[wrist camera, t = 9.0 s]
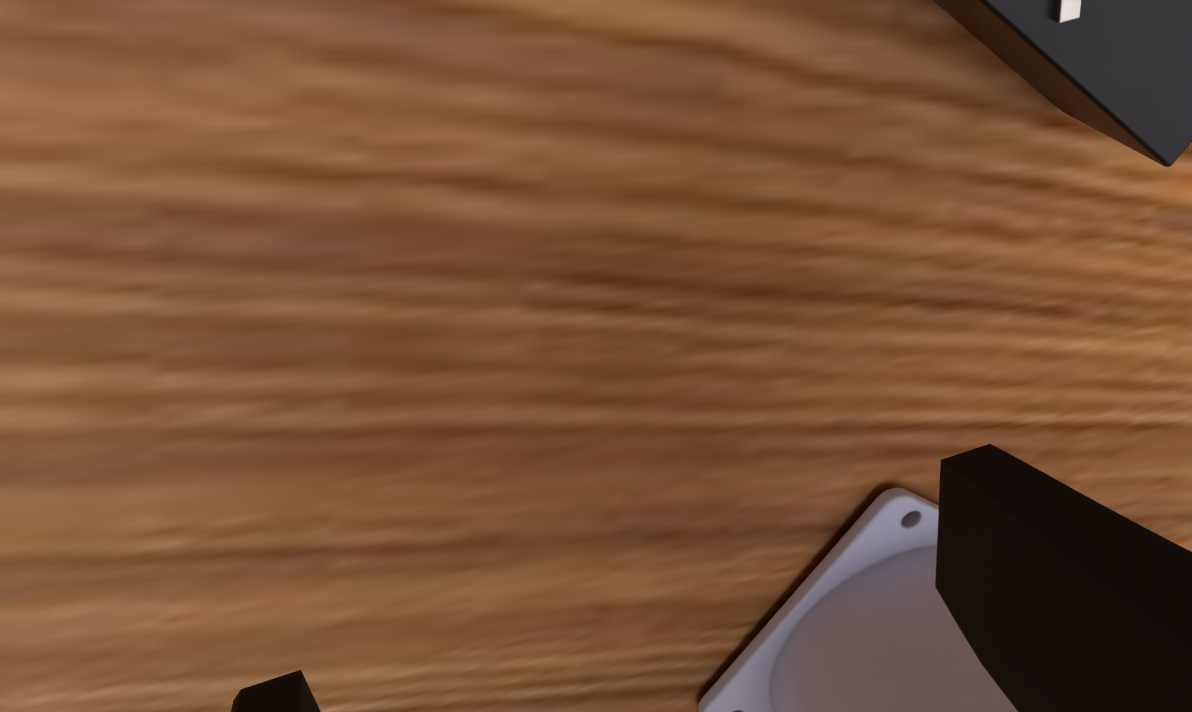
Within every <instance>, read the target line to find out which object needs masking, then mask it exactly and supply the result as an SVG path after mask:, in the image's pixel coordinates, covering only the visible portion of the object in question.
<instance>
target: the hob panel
mask: <svg viewBox="0 0 1192 712" xmlns="http://www.w3.org/2000/svg"><path fill="white" fill-rule="evenodd" d="M934 1H935V2H936V3H937V4H938V5H940V6H941V7H942V8H943V9H944V10H945V11H947V12H948V13H949V14H950V15H951V16H952V17H953V18H955V19H956V20H957V21H958V22H959V23H960V24H962V25H963V26H964V27H965V28H966V29H967V30H969V31H970V32H971V33H972V34H973V35H974V36H976V37H977V38H978V39H979V40H980V41H981V42H983V43H984V44H985V45H986V46H987V47H988V48H990V49H991V50H992V51H993V52H994V53H995V54H997V55H998V56H999V57H1000V58H1001V59H1002V60H1004V61H1005V62H1006V63H1007V64H1008V65H1009V66H1010V67H1012V68H1013V69H1014V70H1015V71H1016V72H1017V73H1019V74H1020V75H1021V76H1022V77H1023V78H1024V79H1026V80H1027V81H1028V82H1029V83H1030V84H1031V85H1033V86H1034V87H1035V88H1036V89H1037V90H1038V91H1040V92H1041V93H1042V94H1043V95H1044V96H1045V97H1047V98H1048V99H1049V100H1050V101H1051V102H1052V103H1054V104H1055V105H1056V106H1057V107H1058V108H1059V109H1060V110H1062V111H1063V112H1065V113H1066V114H1068V115H1070V116H1072V117H1074V118H1076V119H1078V120H1080V121H1081V122H1083V123H1085V124H1087V125H1089V126H1091V127H1093V128H1094V129H1096V130H1098V131H1100V132H1102V133H1104V134H1106V135H1107V136H1109V137H1111V138H1113V139H1115V140H1117V141H1119V142H1120V143H1122V144H1124V145H1126V146H1128V147H1130V148H1132V149H1133V150H1135V151H1137V152H1139V153H1141V154H1143V155H1145V156H1146V157H1148V158H1150V159H1152V160H1154V161H1156V162H1158V163H1159V164H1161V165H1163V166H1167V167H1169V166H1171V165H1172V164H1173V163H1174V162H1175V161H1176V160H1177V158H1178V157H1179V156H1180V155H1181V154H1182V153H1183V152H1184V150H1185V149H1186V148H1187V147H1188V146H1189V145H1190V143H1191V142H1192V0H934Z"/></svg>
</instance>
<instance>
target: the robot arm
mask: <svg viewBox="0 0 1192 712" xmlns="http://www.w3.org/2000/svg"><path fill="white" fill-rule="evenodd" d="M909 512H910V513H909ZM906 514H907V515H906ZM905 515H906V516H905ZM698 711H699V712H1192V552H1191V551H1189V550H1187V549H1185V548H1183V547H1181V546H1179V545H1177V544H1175V543H1173V542H1171V541H1169V540H1167V539H1165V538H1163V537H1161V536H1159V535H1158V534H1156V533H1154V532H1152V531H1150V530H1148V529H1146V528H1144V527H1142V526H1140V525H1138V524H1137V523H1135V522H1133V521H1131V520H1129V519H1127V518H1125V517H1124V516H1122V515H1120V514H1118V513H1116V512H1114V511H1112V510H1110V509H1109V508H1107V507H1105V506H1103V505H1101V504H1099V503H1098V502H1096V501H1094V500H1092V499H1090V498H1089V497H1087V496H1085V495H1083V494H1081V493H1079V492H1078V491H1076V490H1074V489H1072V488H1070V487H1068V486H1067V485H1065V484H1063V483H1061V482H1059V481H1058V480H1056V479H1054V478H1052V477H1050V476H1049V475H1047V474H1045V473H1043V472H1041V471H1040V470H1038V469H1036V468H1034V467H1032V466H1030V465H1029V464H1027V463H1025V462H1023V461H1021V460H1019V459H1018V458H1016V457H1014V456H1012V455H1010V454H1008V453H1006V452H1005V451H1003V450H1001V449H999V448H997V447H995V446H993V445H991V444H988V445H985V446H982V447H979V448H976V449H973V450H970V451H967V452H964V453H961V454H958V455H955V456H952V457H948V458H945V459H942V460H941V470H940V492H939V505H937V504H935V503H933V502H931V501H929V500H927V499H925V498H922V497H920V496H918V495H916V494H914V493H912V492H910V491H908V490H906V489H903V488H898V487H897V488H892V489H888V490H886V491H884V492H882V493H881V494H880V495H879V496H878V497H877V498H876V499H875V500H874V501H873V503H872V504H871V505H870V506H869V507H868V508H867V509H866V511H865V512H864V513H863V514H862V515H861V516H860V517H859V519H858V520H857V521H856V522H855V523H854V524H853V525H852V527H851V528H850V529H849V530H848V531H847V532H846V534H845V535H844V536H843V537H842V538H841V539H840V540H839V542H838V543H837V544H836V545H835V546H834V547H833V548H832V550H831V551H830V552H829V553H828V554H827V555H826V556H825V558H824V559H823V560H822V561H821V562H820V563H819V564H818V566H817V567H816V568H815V569H814V570H813V571H812V573H811V574H810V575H809V576H808V577H807V578H806V579H805V581H804V582H803V583H802V584H801V585H800V586H799V587H798V589H797V590H796V591H795V592H794V593H793V594H792V595H791V597H790V598H789V599H788V600H787V601H786V602H785V604H784V605H783V606H782V607H781V608H780V609H779V610H778V612H777V613H776V614H775V615H774V616H773V617H772V618H771V620H770V621H769V622H768V623H767V624H766V625H765V626H764V628H763V629H762V630H761V631H760V632H759V633H758V634H757V636H756V637H755V638H754V639H753V640H752V641H751V643H750V644H749V645H748V646H747V647H746V648H745V649H744V651H743V652H742V653H741V654H740V655H739V656H738V657H737V659H736V660H735V661H734V662H733V663H732V664H731V665H730V667H729V668H728V669H727V670H726V671H725V672H724V674H723V675H722V676H721V677H720V678H719V679H718V680H717V682H716V683H715V684H714V685H713V686H712V687H711V688H710V690H709V691H708V692H707V693H706V694H705V695H704V696H703V698H702V699H701V701H700V702H699V704H698ZM231 712H320V710H319V707H318V705H317V703H316V701H315V699H314V697H313V695H312V693H311V691H310V688H309V686H308V684H307V682H306V680H305V678H304V676H303V674H302V671H301V670H299V671H296V672H293V673H290V674H287V675H284V676H281V677H277V678H274V679H271V680H268V681H265V682H262V683H259V684H256V685H253V686H250V687H247V688H244V689H241V690H240V692H239V693H238V695H237V696H236V698H235V699H234V701H233V705H232V710H231Z"/></svg>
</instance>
